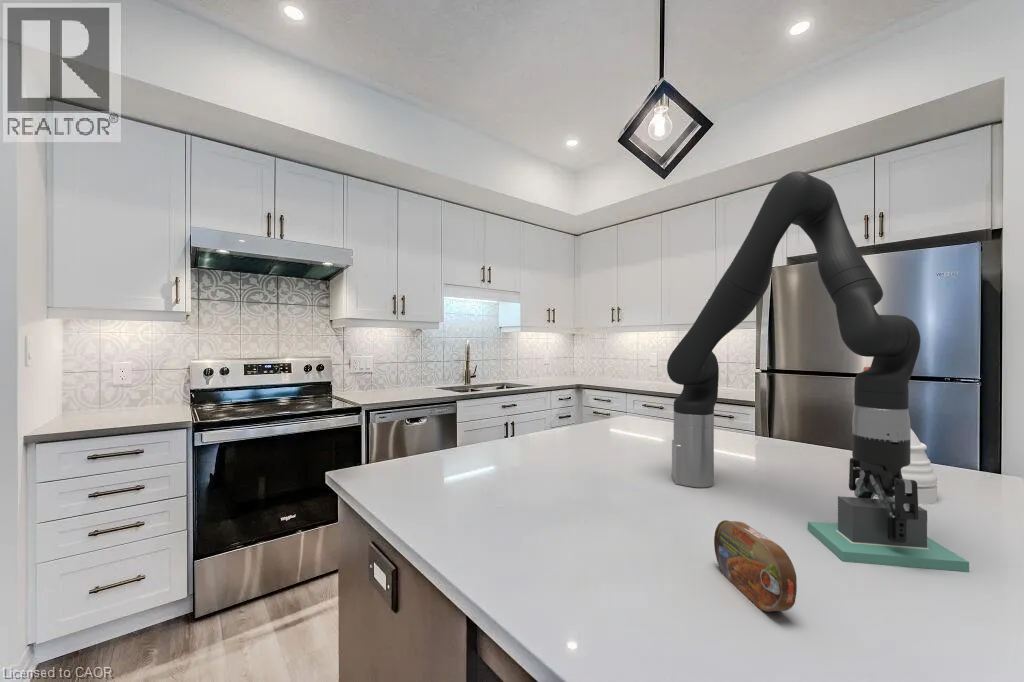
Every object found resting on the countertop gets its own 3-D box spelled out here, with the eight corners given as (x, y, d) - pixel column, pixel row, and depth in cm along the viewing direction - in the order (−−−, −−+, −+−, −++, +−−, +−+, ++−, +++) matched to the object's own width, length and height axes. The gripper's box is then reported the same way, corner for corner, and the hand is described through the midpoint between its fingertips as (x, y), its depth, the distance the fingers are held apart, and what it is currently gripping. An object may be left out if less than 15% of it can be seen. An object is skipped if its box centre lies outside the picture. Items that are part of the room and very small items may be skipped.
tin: (712, 565, 69) (712, 511, 69) (731, 564, 69) (731, 510, 69) (778, 627, 54) (778, 558, 54) (802, 626, 54) (802, 557, 54)
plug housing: (852, 542, 73) (852, 505, 73) (837, 530, 78) (837, 496, 78) (927, 548, 71) (927, 510, 71) (907, 535, 76) (907, 500, 76)
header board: (842, 561, 70) (842, 529, 70) (807, 529, 82) (807, 502, 82) (969, 571, 67) (969, 538, 67) (913, 537, 79) (913, 509, 79)
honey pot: (866, 481, 110) (866, 409, 110) (938, 494, 101) (938, 415, 101) (857, 494, 101) (858, 415, 101) (935, 509, 92) (936, 422, 92)
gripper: (833, 424, 82) (833, 512, 82) (881, 442, 68) (881, 547, 68) (879, 426, 81) (879, 515, 81) (938, 444, 67) (938, 552, 67)
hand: (880, 530), depth 75 cm, fingers open, 8 cm apart
